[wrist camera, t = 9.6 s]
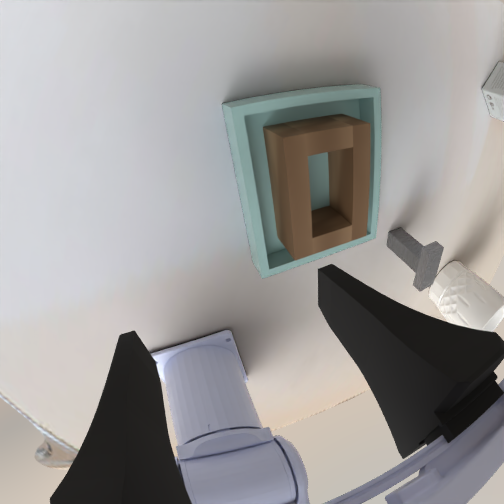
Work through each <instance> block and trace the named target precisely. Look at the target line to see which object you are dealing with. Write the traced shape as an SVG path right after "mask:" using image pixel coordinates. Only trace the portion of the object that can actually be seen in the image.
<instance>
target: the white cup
mask: <svg viewBox="0 0 504 504" xmlns="http://www.w3.org/2000/svg"><path fill="white" fill-rule="evenodd" d="M428 296H429V298H430V299H431V301H432V302H433V303H434V304H435V305H436V307H437V308H438V309H439V310H440V313H441V314H442V315H443V316H444V317H445V319H446V320H447V321H448V322H449V323H452V324H456V325H459V326H464V327H468V328H472V329H477V330H484V331H490V332H493V331H494V330H495V328H496V327H497V326H498V325H499V323H500V322H501V320H502V319H503V317H504V297H503V296H502V295H501V294H499V292H497V291H496V290H495V289H494V288H493V287H492V286H491V285H489V284H488V283H487V282H486V281H485V280H483V279H482V278H481V277H479V276H478V275H477V274H476V273H474V272H473V271H471V270H470V269H468V268H467V267H466V266H465V265H463V264H462V263H461V262H459V261H452V262H451V263H449V264H447V265H446V266H445V267H444V268H443V269H442V270H441V271H440V272H439V274H438V275H437V276H436V278H435V280H434V283H433V285H431V287H430V289H429V295H428Z"/></svg>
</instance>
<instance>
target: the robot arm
mask: <svg viewBox="0 0 504 504" xmlns="http://www.w3.org/2000/svg"><path fill="white" fill-rule="evenodd" d="M318 306H319V308H320V309H321V311H322V313H323V315H324V317H325V319H326V321H327V323H328V324H329V326H330V328H331V329H332V331H333V332H334V333H335V335H336V336H337V338H338V339H339V340H340V342H341V343H342V345H343V346H344V347H345V349H346V350H347V352H348V353H349V354H350V356H351V357H352V359H353V360H354V362H355V363H356V364H357V366H358V367H359V369H360V370H361V372H362V374H363V375H364V377H365V379H366V381H367V383H368V385H369V386H370V388H371V390H372V392H373V394H374V396H375V398H376V400H377V402H378V404H379V406H380V408H381V410H382V412H383V415H384V417H385V419H386V421H387V423H388V426H389V428H390V430H391V433H392V436H393V438H394V441H395V443H396V446H397V449H398V451H399V453H400V455H401V456H402V458H403V459H404V458H406V457H407V456H409V455H410V454H412V453H413V452H415V451H416V450H418V449H419V448H421V447H422V446H424V445H425V444H427V447H425V448H423V449H422V450H420V451H419V452H417V453H416V454H414V455H413V456H411V457H410V458H408V459H407V460H405V461H404V462H402V463H400V464H399V465H397V466H396V467H394V468H392V469H391V470H389V471H387V472H385V473H384V474H382V475H380V476H379V477H377V478H375V479H373V480H371V481H369V482H367V483H366V484H364V485H362V486H360V487H358V488H356V489H354V490H352V491H350V492H348V493H345V494H343V495H341V496H339V497H337V498H335V499H332V500H330V501H328V502H325V503H323V504H361V503H363V502H365V501H367V500H369V499H371V498H373V497H375V496H377V495H378V494H380V493H382V492H384V491H385V490H387V489H389V488H391V487H392V486H394V485H396V484H397V483H399V482H401V481H402V480H404V479H405V478H407V477H409V476H410V475H411V474H413V473H415V472H416V471H418V470H419V469H420V471H419V476H418V477H416V478H414V479H413V480H411V481H409V482H407V483H406V484H404V485H403V486H401V487H399V488H398V489H396V490H395V491H393V492H392V493H390V494H388V495H387V496H386V497H385V499H386V501H387V503H388V504H466V503H467V502H468V501H469V500H470V499H471V498H472V497H473V496H474V495H475V494H476V493H477V492H478V491H479V490H480V489H481V488H482V487H483V486H484V485H485V483H486V482H487V481H488V480H489V479H490V478H491V477H492V476H493V474H494V473H495V472H496V471H497V470H498V468H499V467H500V466H501V465H502V463H503V462H504V379H503V380H502V381H501V382H500V383H499V384H497V383H496V381H495V380H496V379H497V375H496V374H495V373H494V370H495V369H496V368H497V366H498V365H499V364H500V363H501V361H502V360H503V359H504V341H503V340H502V339H501V337H500V336H499V335H498V334H497V333H496V332H490V331H484V330H477V329H472V328H468V327H464V326H459V325H456V324H452V323H449V322H445V321H442V320H439V319H436V318H433V317H431V316H428V315H425V314H423V313H421V312H418V311H416V310H413V309H411V308H409V307H407V306H404V305H402V304H400V303H398V302H396V301H394V300H392V299H390V298H389V297H387V296H385V295H383V294H381V293H379V292H378V291H376V290H374V289H372V288H371V287H369V286H367V285H366V284H364V283H362V282H361V281H359V280H357V279H356V278H354V277H352V276H351V275H349V274H348V273H346V272H344V271H343V270H341V269H339V268H338V267H336V266H335V265H333V264H330V265H328V266H325V267H322V268H320V269H318ZM227 338H228V339H227ZM159 376H160V377H161V379H162V380H163V381H164V383H165V384H166V390H167V395H168V401H169V406H170V411H171V416H172V420H173V425H174V430H175V434H176V439H177V443H178V446H176V449H177V453H178V457H179V460H178V458H177V457H174V454H173V451H172V447H171V444H170V439H169V435H168V429H167V422H166V416H165V409H164V402H163V394H162V387H161V382H160V378H159ZM247 381H248V378H247V375H246V372H245V370H244V367H243V364H242V361H241V358H240V356H239V353H238V350H237V347H236V344H235V341H234V338H233V335H232V332H231V331H229V330H225V331H222V332H219V333H216V334H213V335H209V336H206V337H203V338H200V339H197V340H194V341H191V342H188V343H184V344H181V345H178V346H175V347H171V348H168V349H165V350H161V351H158V352H154V353H151V354H150V353H149V351H148V350H147V348H146V347H145V345H144V344H143V342H142V341H141V339H140V338H139V336H138V335H137V333H136V332H135V331H131V332H128V333H125V334H121V335H120V336H119V339H118V342H117V346H116V349H115V353H114V356H113V360H112V363H111V367H110V370H109V373H108V377H107V380H106V383H105V387H104V390H103V393H102V396H101V399H100V402H99V405H98V408H97V410H96V413H95V416H94V418H93V421H92V423H91V426H90V428H89V431H88V433H87V435H86V437H85V439H84V442H83V444H82V446H81V448H80V450H79V452H78V454H77V456H76V458H75V460H74V461H73V463H72V465H71V467H70V469H69V470H68V472H67V474H66V476H65V477H64V479H63V480H62V482H61V483H60V485H59V486H58V488H57V489H56V491H55V492H54V494H53V495H52V496H51V498H50V504H310V503H309V498H308V492H307V489H308V479H307V474H306V470H305V467H304V464H303V461H302V459H301V457H300V455H299V453H298V451H297V450H296V448H295V447H294V445H293V444H292V443H291V442H290V441H288V440H286V439H284V438H283V437H282V436H280V435H276V436H273V435H272V433H271V431H270V428H269V427H266V428H263V427H262V424H261V422H260V419H259V417H258V414H257V412H256V409H255V407H254V404H253V402H252V399H251V397H250V394H249V391H248V389H247V386H246V384H245V383H246V382H247Z"/></svg>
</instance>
